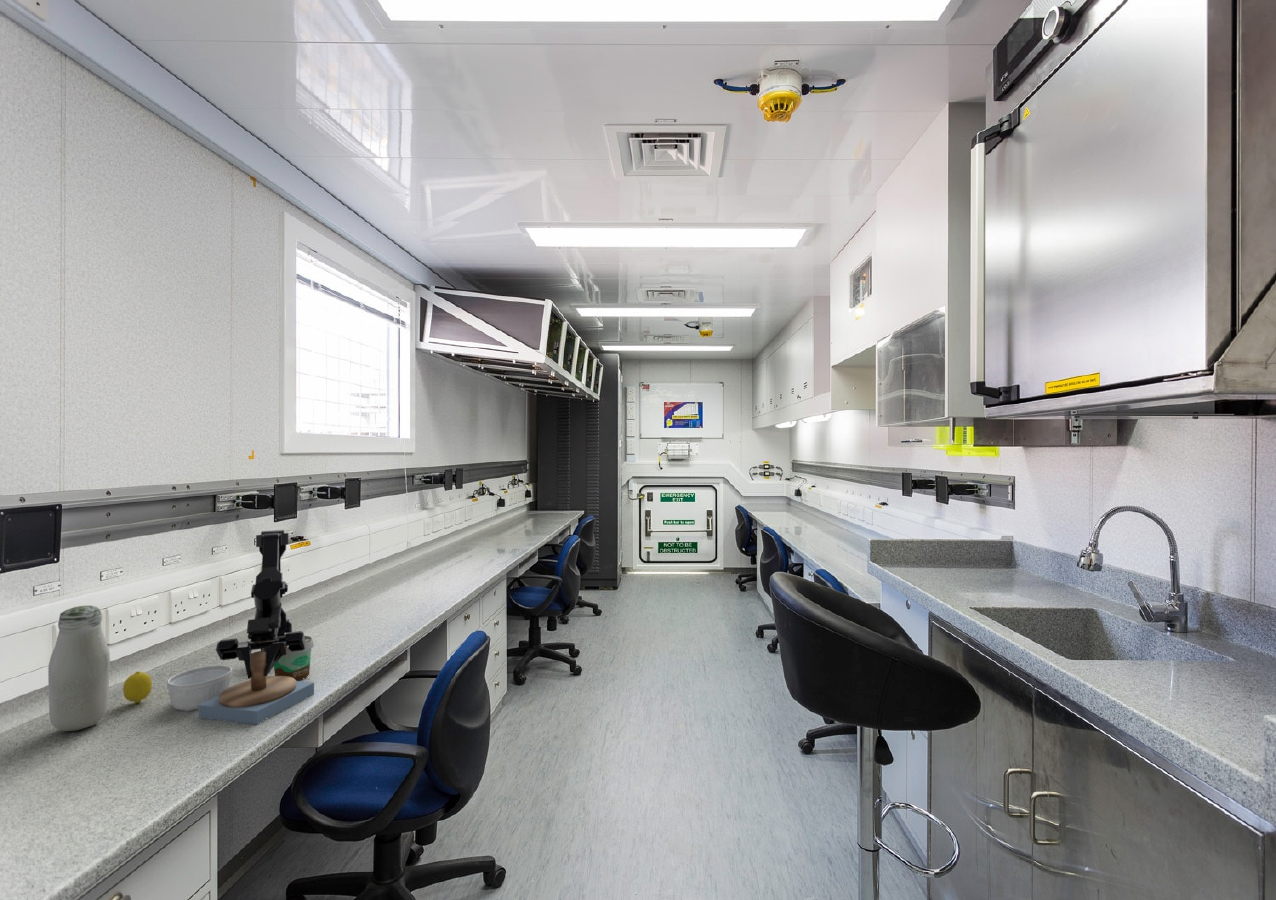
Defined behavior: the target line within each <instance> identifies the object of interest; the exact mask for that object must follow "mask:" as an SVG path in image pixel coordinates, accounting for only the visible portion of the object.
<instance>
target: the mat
mask: <svg viewBox="0 0 1276 900" xmlns="http://www.w3.org/2000/svg"><path fill="white" fill-rule="evenodd" d="M309 695H311V696H313V695H315V682H313V681H303V680H300V681H296V688H295V690H294V691H293V692H291V693H290V694H288V695H286V696H284V697H282V698H280V699H277V700H275V701H271V702H268V703H264V704H260V705H255V706H249V707H239V708H232V707H225V706H222V705H221V704H220V703H219V696H218V697H216V698H213V699H211V700H209V701H207V702H204V703H202V704H200V705H199V709H198V718H199V719H206V718H208V720H215V719H218V720H217V721H223V720H225V721H224V722H232V721H233V723H234V721H235V723H241V722H243V723H242V724H250V723H253V725H259V724H260V722H261V723H262V721H263V720H265V719H266V718H268V719H270V718H272V717H274V716H275V715H274V714H276V713H278V714H279V712H280V713H281V712H283V711H285V710H287V709H289V708H290V707H292V705H293V706H295V705H296V704H298V703H300V702H302V701H303V699H304V700H306V699H307V698H306V697H308V696H309ZM309 697H310V696H309ZM309 697H308V698H309ZM305 698H306V699H305ZM299 701H300V702H299ZM297 702H298V703H297ZM288 707H289V708H288ZM286 708H287V709H286ZM273 715H274V716H273ZM276 715H277V714H276ZM271 716H272V717H271ZM269 717H270V718H269ZM266 720H267V719H266ZM266 720H265V721H266ZM263 722H264V721H263ZM258 723H259V724H258Z"/></svg>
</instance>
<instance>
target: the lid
mask: <svg viewBox="0 0 1276 900" xmlns="http://www.w3.org/2000/svg"><path fill="white" fill-rule="evenodd" d="M265 668H266V651H261V650H259V651H255V652H251V677H250V679H248V680H245V681H242V682H239V683H237V684H234V685H232V686H230V687H229V688H228V689H226V690H224V691H223V692H222V693H221V694H220V696H219V703H220V704H221V705H222V706H225V707H232V708H239V707H249V706H255V705H260V704H264V703H268V702H271V701H275V700H277V699H280V698H282V697H284V696H286V695H288V694H290V693H291V692H293V691H294V690H295V688H296V680H295V679H294V678H292V677H288V676H275V675H273V676H267V677H265Z"/></svg>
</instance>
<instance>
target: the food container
mask: <svg viewBox="0 0 1276 900" xmlns="http://www.w3.org/2000/svg"><path fill="white" fill-rule="evenodd" d="M304 637H305V649H304V650H301V651H293V652H291V651H290V650H289V649H288V647H289V646H287V648H286V652H287V653H286V655H283V656H282V657H281V658H280V659H279V660H278V661H277V662H276V664H275V665H274V667H273V672H274V676H288V677H292V678H294V679H295V680H296V681H299V680H300V681H303V680H304V679H303V678H305V679H306V677H307V676H308V675H309V676H310V669H311V659H312V658H311V656H312V655H311V654H312V649H313V648H314V647H315V644H314V639H312V636H309V635H304ZM309 676H308V677H309ZM308 677H307V678H308ZM302 679H303V680H302Z"/></svg>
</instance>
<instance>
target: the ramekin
mask: <svg viewBox="0 0 1276 900" xmlns="http://www.w3.org/2000/svg"><path fill="white" fill-rule="evenodd" d="M232 675H233V667H231V666H229V665H225V664H212V665H205V666H198V667H195V668H191V669H187V670H183V671H181V672H179V673H176V674H174V675H172V676H170V677H169V678H168V680H166V681H167V683H166V688H167V689H168V694H169V700H170V704H171V707H172V708H174V709H175V710H177V709H178V710H177V711H193V709H195V710H199V705H200V704H202V703H204V702H207V701H209V700H211V699H213V698H216V697H218V696H220V694H221V693H222V692H223V691H224V690H226V689H228V688H229V687H231V679H232V678H231V677H232Z"/></svg>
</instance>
